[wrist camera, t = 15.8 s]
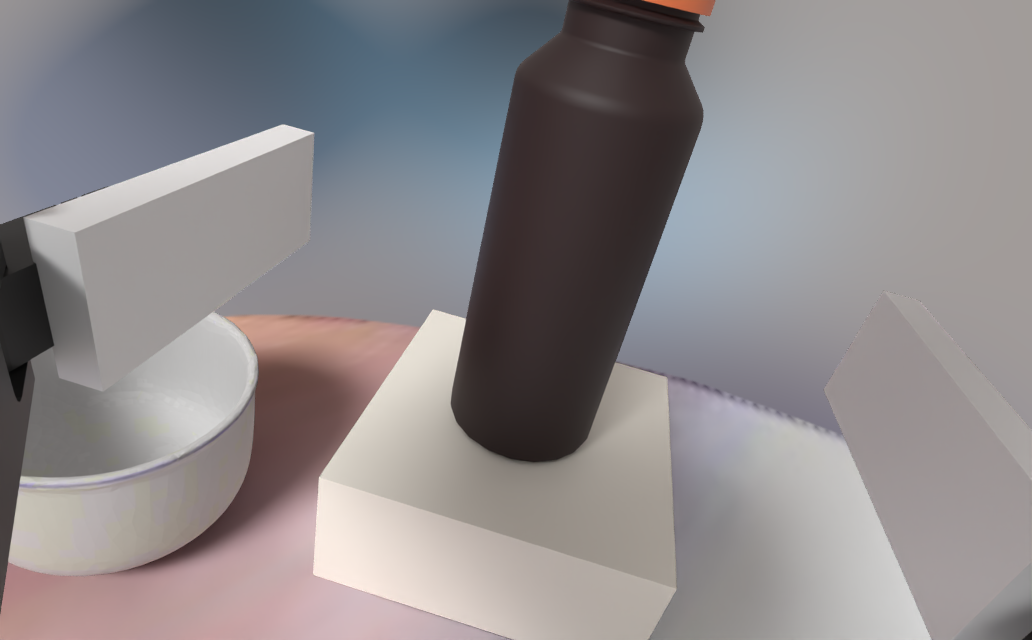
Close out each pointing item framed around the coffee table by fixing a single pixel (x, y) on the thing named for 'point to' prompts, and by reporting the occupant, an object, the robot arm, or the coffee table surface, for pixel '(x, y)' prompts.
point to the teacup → (135, 455)
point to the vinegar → (575, 221)
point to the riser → (503, 509)
